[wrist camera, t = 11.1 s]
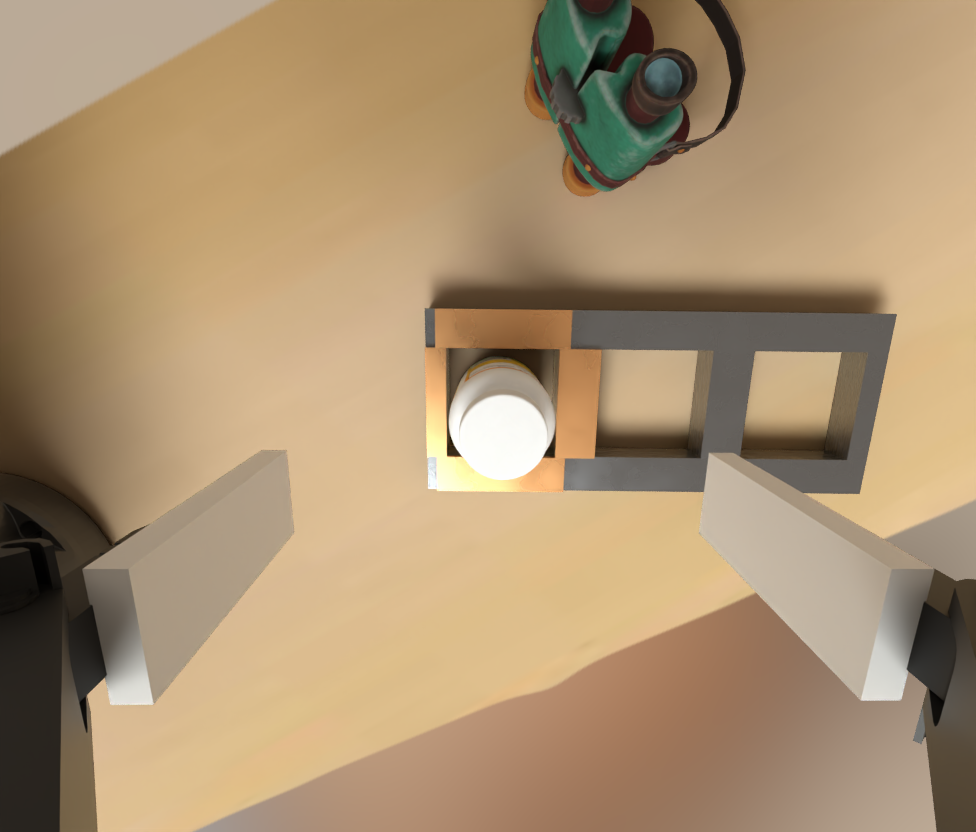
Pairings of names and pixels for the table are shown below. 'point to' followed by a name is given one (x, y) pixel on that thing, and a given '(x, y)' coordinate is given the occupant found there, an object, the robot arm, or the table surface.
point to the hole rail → (715, 399)
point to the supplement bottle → (501, 418)
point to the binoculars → (618, 88)
